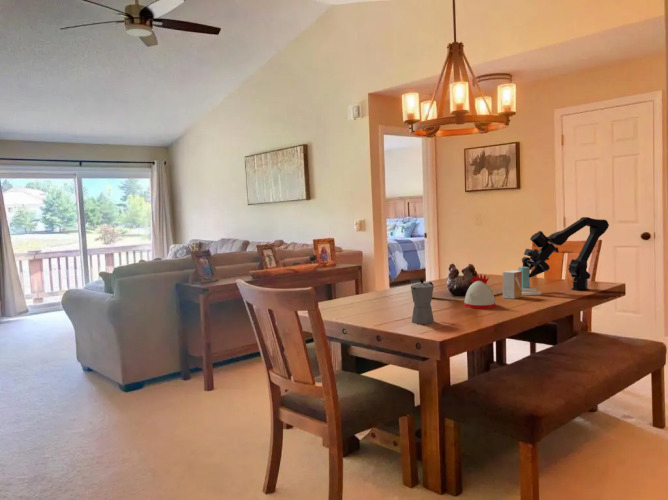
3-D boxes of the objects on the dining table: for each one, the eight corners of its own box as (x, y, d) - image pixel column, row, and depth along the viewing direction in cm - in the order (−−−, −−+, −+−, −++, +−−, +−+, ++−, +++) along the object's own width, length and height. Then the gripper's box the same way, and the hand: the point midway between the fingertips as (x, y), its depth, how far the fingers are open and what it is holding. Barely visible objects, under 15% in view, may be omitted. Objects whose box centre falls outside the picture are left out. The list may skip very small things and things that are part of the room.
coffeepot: (424, 326, 206) (423, 281, 204) (404, 323, 212) (403, 279, 210) (443, 319, 217) (442, 276, 216) (423, 316, 223) (422, 275, 222)
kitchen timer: (490, 309, 232) (489, 276, 231) (460, 307, 240) (459, 275, 239) (498, 304, 244) (498, 272, 243) (470, 302, 251) (469, 271, 250)
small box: (514, 299, 255) (514, 272, 254) (502, 297, 259) (502, 271, 258) (522, 296, 260) (522, 270, 259) (510, 295, 265) (510, 270, 264)
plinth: (529, 290, 276) (529, 285, 276) (541, 294, 264) (541, 288, 264) (507, 292, 274) (507, 286, 274) (518, 295, 263) (518, 290, 262)
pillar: (525, 289, 271) (525, 266, 270) (529, 290, 267) (529, 267, 266) (518, 290, 271) (518, 267, 270) (522, 291, 267) (522, 268, 266)
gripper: (524, 241, 277) (505, 263, 276) (543, 244, 259) (523, 267, 258) (538, 255, 279) (519, 277, 278) (558, 259, 260) (538, 282, 260)
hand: (524, 275), depth 269 cm, fingers open, 9 cm apart
